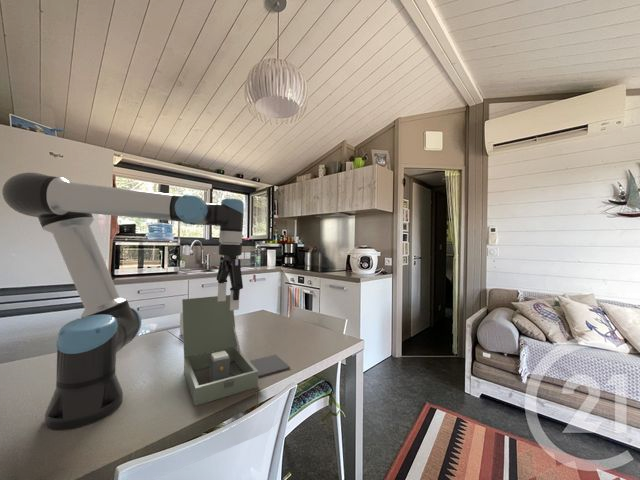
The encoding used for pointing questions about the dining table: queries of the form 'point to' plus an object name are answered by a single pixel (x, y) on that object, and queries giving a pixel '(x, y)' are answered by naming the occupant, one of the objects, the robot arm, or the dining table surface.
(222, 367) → the block
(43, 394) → the dining table surface
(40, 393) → the dining table surface
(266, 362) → the mat
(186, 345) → the case
